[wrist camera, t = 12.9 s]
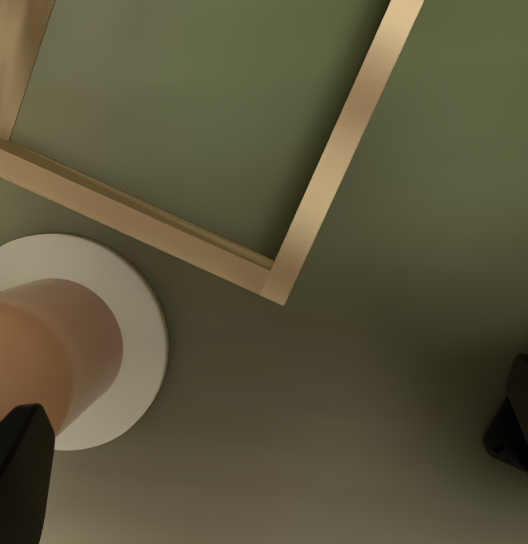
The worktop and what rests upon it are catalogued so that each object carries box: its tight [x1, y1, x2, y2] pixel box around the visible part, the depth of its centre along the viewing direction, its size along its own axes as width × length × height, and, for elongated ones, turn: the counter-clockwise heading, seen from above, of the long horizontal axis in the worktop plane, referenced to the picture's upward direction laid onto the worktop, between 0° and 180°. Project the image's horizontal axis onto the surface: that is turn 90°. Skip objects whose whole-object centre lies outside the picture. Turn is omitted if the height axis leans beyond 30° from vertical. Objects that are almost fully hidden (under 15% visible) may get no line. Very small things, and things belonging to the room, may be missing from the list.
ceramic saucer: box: [0, 233, 169, 450], centre depth 22 cm, size 10×10×1 cm
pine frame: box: [0, 0, 424, 306], centre depth 19 cm, size 15×15×3 cm
